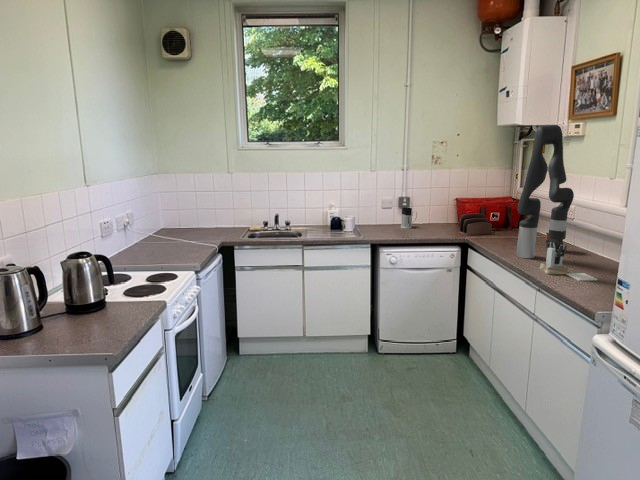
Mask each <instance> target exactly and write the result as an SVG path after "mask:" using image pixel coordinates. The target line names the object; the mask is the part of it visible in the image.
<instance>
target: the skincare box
mask: <svg viewBox="0 0 640 480" xmlns="http://www.w3.org/2000/svg"><path fill="white" fill-rule="evenodd" d="M556 250H559V249H556ZM557 254H558V252H557ZM561 254H562V252H561ZM555 257H556V256H555V250H554V248H546V260H545V263H546V265H547V266H549V267H562V265H563V257H564V256H562V257H560V263H559V264H554V262H555Z"/></svg>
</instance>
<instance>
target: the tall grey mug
mask: <svg viewBox="0 0 640 480" xmlns="http://www.w3.org/2000/svg"><path fill="white" fill-rule="evenodd" d="M414 212H415V214H416V215H415V216H416V217H415V218H414V220H413V219H412V217H413V216H414ZM400 216H401V218H400V220H401V222H400V228H401V229H412V226H413V225H412V224H413V223H414V222H415V221H416V220H417V219H418V218H417V217H418V212H417V211H416V210H413V208H412V207H402V208H401V215H400ZM412 220H413V221H412Z"/></svg>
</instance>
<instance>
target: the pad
mask: <svg viewBox="0 0 640 480" xmlns="http://www.w3.org/2000/svg"><path fill="white" fill-rule="evenodd" d="M565 276H568V277H570V278H572V279H575V280H576V281H578V282H584V281H598V279H597V278H596V277H593V276H592V275H589V274H587V273H584V272H580V273H579V272H577V273H575V272H574V273H572V272H571V273H568V272H567V274H565Z"/></svg>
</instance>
